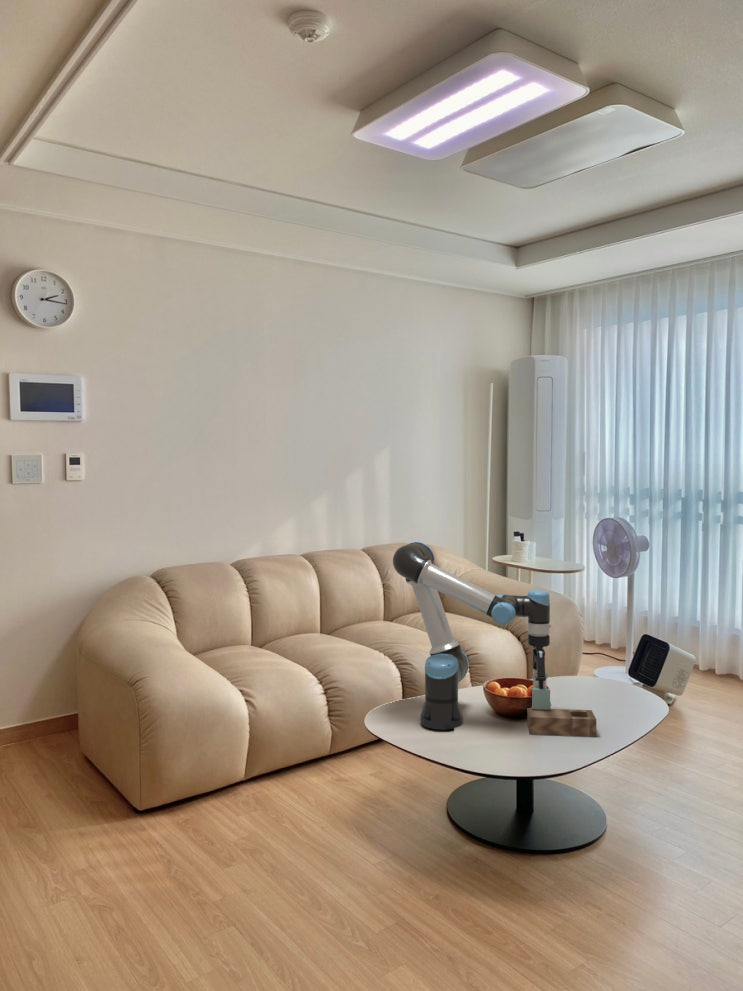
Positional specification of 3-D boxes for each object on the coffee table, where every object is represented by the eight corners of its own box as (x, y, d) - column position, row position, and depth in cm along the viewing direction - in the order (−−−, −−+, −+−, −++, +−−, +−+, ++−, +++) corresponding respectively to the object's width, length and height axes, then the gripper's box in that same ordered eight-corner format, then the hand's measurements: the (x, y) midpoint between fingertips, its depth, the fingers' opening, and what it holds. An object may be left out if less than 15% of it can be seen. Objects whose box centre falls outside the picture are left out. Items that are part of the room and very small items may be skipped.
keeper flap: (531, 710, 275) (531, 689, 274) (531, 709, 276) (531, 688, 275) (550, 710, 274) (550, 689, 273) (550, 709, 275) (550, 688, 274)
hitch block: (529, 734, 268) (529, 717, 267) (527, 724, 277) (527, 708, 277) (596, 737, 265) (596, 719, 265) (591, 727, 275) (591, 710, 275)
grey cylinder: (534, 705, 276) (534, 675, 276) (532, 701, 281) (532, 672, 281) (548, 705, 276) (548, 676, 276) (546, 701, 280) (546, 672, 280)
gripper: (553, 642, 269) (553, 703, 270) (545, 626, 294) (545, 683, 295) (531, 642, 270) (531, 703, 271) (525, 626, 294) (525, 682, 295)
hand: (538, 693), depth 283 cm, fingers open, 13 cm apart
